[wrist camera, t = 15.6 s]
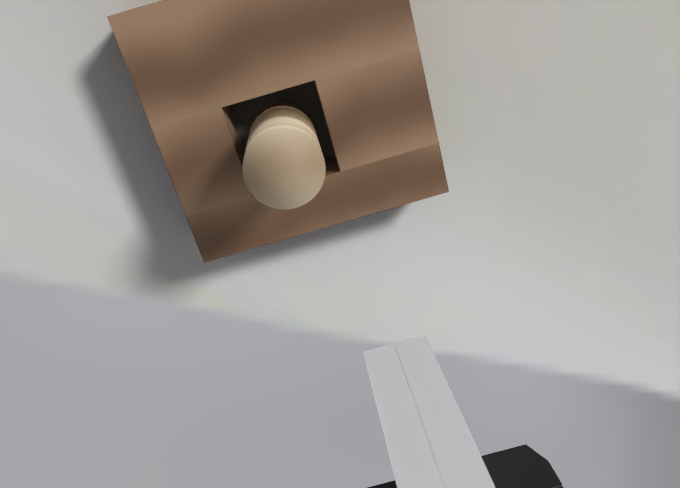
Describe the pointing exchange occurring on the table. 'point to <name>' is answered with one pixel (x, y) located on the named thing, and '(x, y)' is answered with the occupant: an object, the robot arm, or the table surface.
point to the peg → (283, 158)
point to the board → (274, 75)
